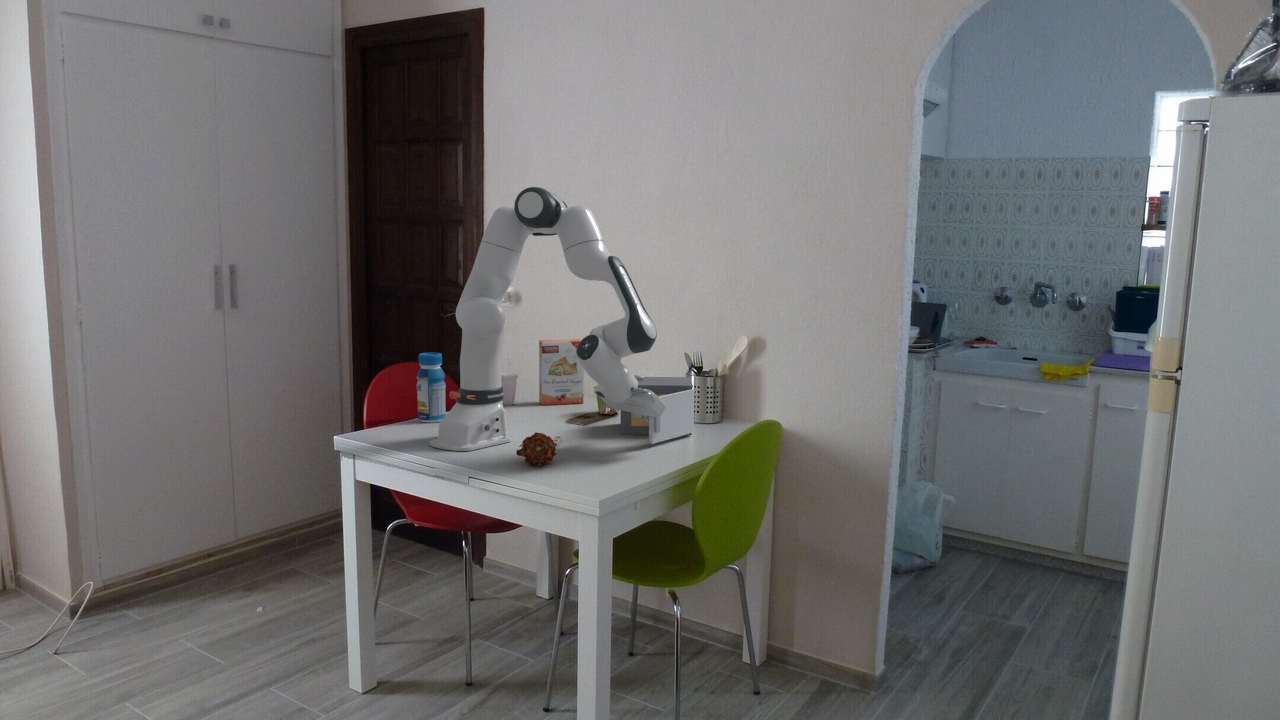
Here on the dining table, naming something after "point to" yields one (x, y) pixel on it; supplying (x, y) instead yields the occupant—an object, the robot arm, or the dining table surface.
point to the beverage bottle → (431, 388)
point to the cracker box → (560, 372)
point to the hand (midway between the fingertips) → (648, 419)
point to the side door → (673, 417)
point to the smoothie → (509, 386)
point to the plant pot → (602, 402)
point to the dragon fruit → (537, 449)
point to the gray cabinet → (659, 388)
